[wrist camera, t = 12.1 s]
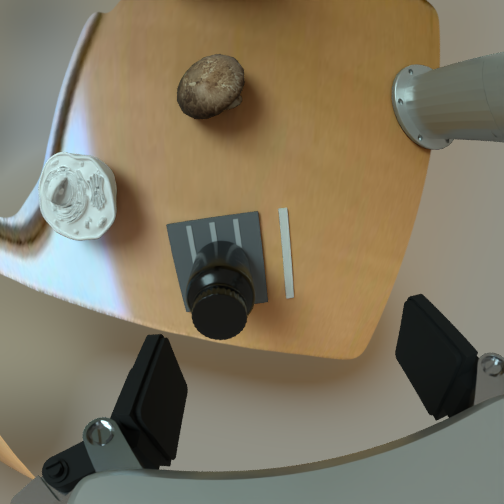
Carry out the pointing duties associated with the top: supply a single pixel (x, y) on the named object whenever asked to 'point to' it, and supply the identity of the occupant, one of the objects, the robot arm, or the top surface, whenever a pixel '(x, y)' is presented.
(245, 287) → the supplement bottle
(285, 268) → the strip
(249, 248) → the mat
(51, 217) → the cell model
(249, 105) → the top surface
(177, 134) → the top surface
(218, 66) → the mushroom
